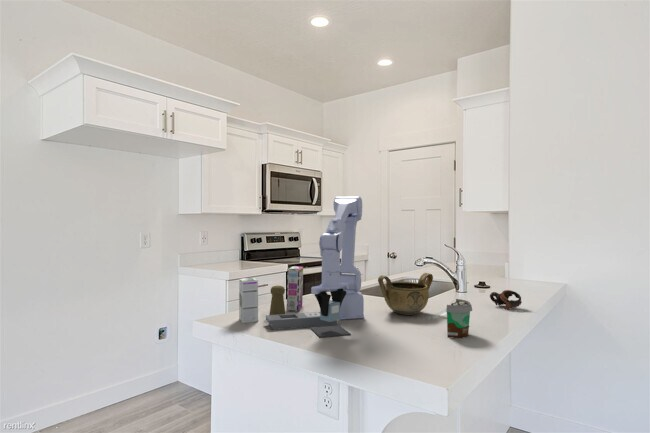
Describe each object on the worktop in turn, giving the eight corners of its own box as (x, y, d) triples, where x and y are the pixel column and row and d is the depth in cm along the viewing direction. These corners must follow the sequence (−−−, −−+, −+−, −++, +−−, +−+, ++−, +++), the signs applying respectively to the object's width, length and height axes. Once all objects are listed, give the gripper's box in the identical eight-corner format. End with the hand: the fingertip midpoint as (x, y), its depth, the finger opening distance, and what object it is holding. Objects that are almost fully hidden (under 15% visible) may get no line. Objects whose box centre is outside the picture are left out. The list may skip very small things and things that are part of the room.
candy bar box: (299, 312, 150) (299, 269, 150) (286, 311, 150) (286, 269, 150) (303, 305, 161) (303, 266, 161) (291, 305, 161) (291, 265, 161)
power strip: (333, 319, 139) (333, 308, 139) (339, 324, 132) (340, 313, 132) (265, 324, 131) (265, 313, 131) (269, 329, 125) (269, 317, 125)
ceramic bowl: (419, 306, 161) (419, 270, 161) (444, 316, 145) (444, 276, 145) (370, 310, 154) (370, 272, 154) (390, 320, 138) (391, 278, 138)
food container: (467, 342, 114) (467, 307, 114) (446, 338, 117) (446, 305, 117) (475, 332, 124) (476, 300, 125) (456, 329, 128) (456, 298, 128)
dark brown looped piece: (518, 307, 164) (524, 292, 160) (516, 321, 157) (522, 306, 153) (488, 297, 169) (493, 282, 165) (485, 311, 161) (490, 295, 157)
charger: (330, 317, 126) (330, 300, 126) (340, 319, 123) (340, 302, 123) (320, 319, 123) (320, 301, 123) (330, 322, 120) (330, 304, 120)
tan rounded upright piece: (282, 318, 139) (283, 287, 140) (266, 317, 141) (267, 286, 141) (287, 314, 145) (288, 284, 146) (272, 313, 147) (272, 284, 147)
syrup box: (258, 321, 134) (259, 279, 135) (241, 323, 132) (241, 280, 132) (255, 318, 140) (255, 277, 140) (238, 319, 137) (238, 278, 138)
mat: (339, 326, 129) (339, 325, 129) (350, 335, 120) (350, 333, 120) (310, 328, 126) (310, 327, 126) (319, 337, 117) (319, 336, 117)
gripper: (338, 268, 131) (337, 309, 131) (305, 271, 121) (304, 315, 121) (353, 270, 126) (353, 312, 126) (320, 274, 116) (319, 320, 116)
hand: (330, 314), depth 123 cm, fingers closed on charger, 4 cm apart
